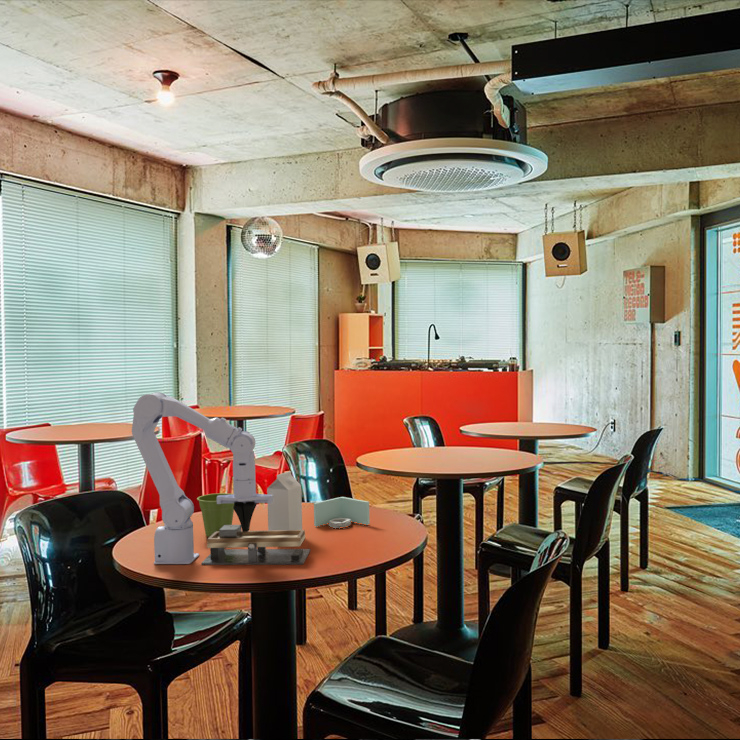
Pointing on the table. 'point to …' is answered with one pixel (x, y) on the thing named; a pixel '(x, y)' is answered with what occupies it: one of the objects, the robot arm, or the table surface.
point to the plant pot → (215, 513)
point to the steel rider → (230, 531)
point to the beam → (259, 539)
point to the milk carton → (285, 503)
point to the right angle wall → (341, 512)
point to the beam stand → (256, 556)
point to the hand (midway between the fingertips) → (245, 530)
